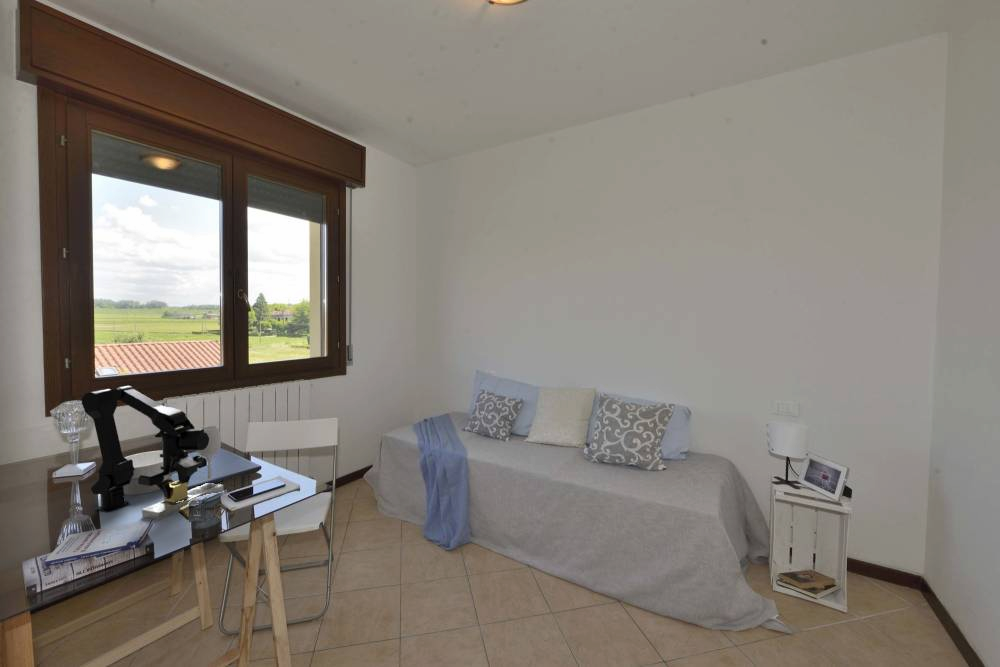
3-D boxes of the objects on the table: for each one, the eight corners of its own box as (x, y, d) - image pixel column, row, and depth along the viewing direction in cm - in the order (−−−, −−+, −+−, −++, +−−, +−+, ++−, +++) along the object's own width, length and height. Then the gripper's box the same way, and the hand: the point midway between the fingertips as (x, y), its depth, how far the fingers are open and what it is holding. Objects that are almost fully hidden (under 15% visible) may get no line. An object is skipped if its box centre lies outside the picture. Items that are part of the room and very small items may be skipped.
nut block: (164, 500, 142) (163, 485, 141) (178, 494, 146) (177, 480, 146) (174, 502, 140) (173, 486, 140) (187, 496, 145) (187, 481, 144)
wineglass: (229, 479, 167) (226, 425, 166) (208, 488, 159) (205, 432, 157) (211, 476, 169) (209, 424, 168) (190, 485, 161) (187, 430, 160)
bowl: (105, 489, 158) (103, 460, 158) (168, 473, 174) (167, 447, 173) (120, 503, 147) (119, 472, 146) (186, 484, 162) (185, 456, 162)
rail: (142, 517, 137) (142, 509, 137) (208, 489, 158) (207, 482, 158) (159, 520, 135) (158, 512, 134) (223, 491, 155) (223, 484, 155)
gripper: (161, 461, 131) (163, 511, 132) (217, 443, 149) (219, 487, 149) (135, 458, 134) (138, 506, 135) (194, 440, 152) (196, 483, 153)
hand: (175, 495), depth 143 cm, fingers closed on nut block, 4 cm apart
